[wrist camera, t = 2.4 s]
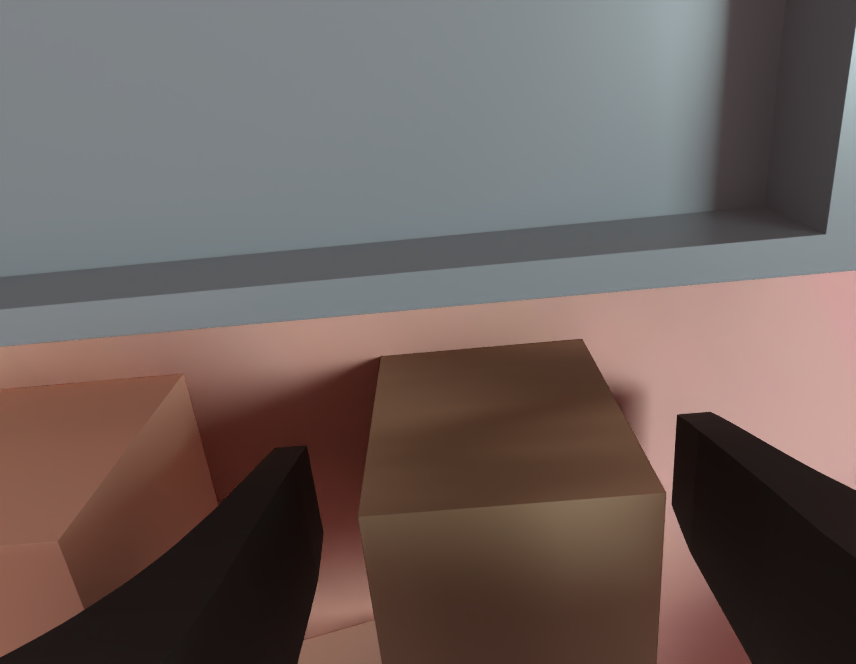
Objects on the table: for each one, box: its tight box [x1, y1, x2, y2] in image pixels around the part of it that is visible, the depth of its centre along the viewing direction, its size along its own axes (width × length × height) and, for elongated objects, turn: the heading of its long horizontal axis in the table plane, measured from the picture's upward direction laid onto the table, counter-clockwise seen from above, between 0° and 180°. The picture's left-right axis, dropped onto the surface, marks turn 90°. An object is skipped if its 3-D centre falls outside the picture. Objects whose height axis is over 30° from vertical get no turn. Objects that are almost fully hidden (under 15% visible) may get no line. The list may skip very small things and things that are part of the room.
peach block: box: [0, 374, 218, 657], centre depth 12 cm, size 4×4×5 cm
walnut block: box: [358, 339, 666, 664], centre depth 12 cm, size 4×4×5 cm
